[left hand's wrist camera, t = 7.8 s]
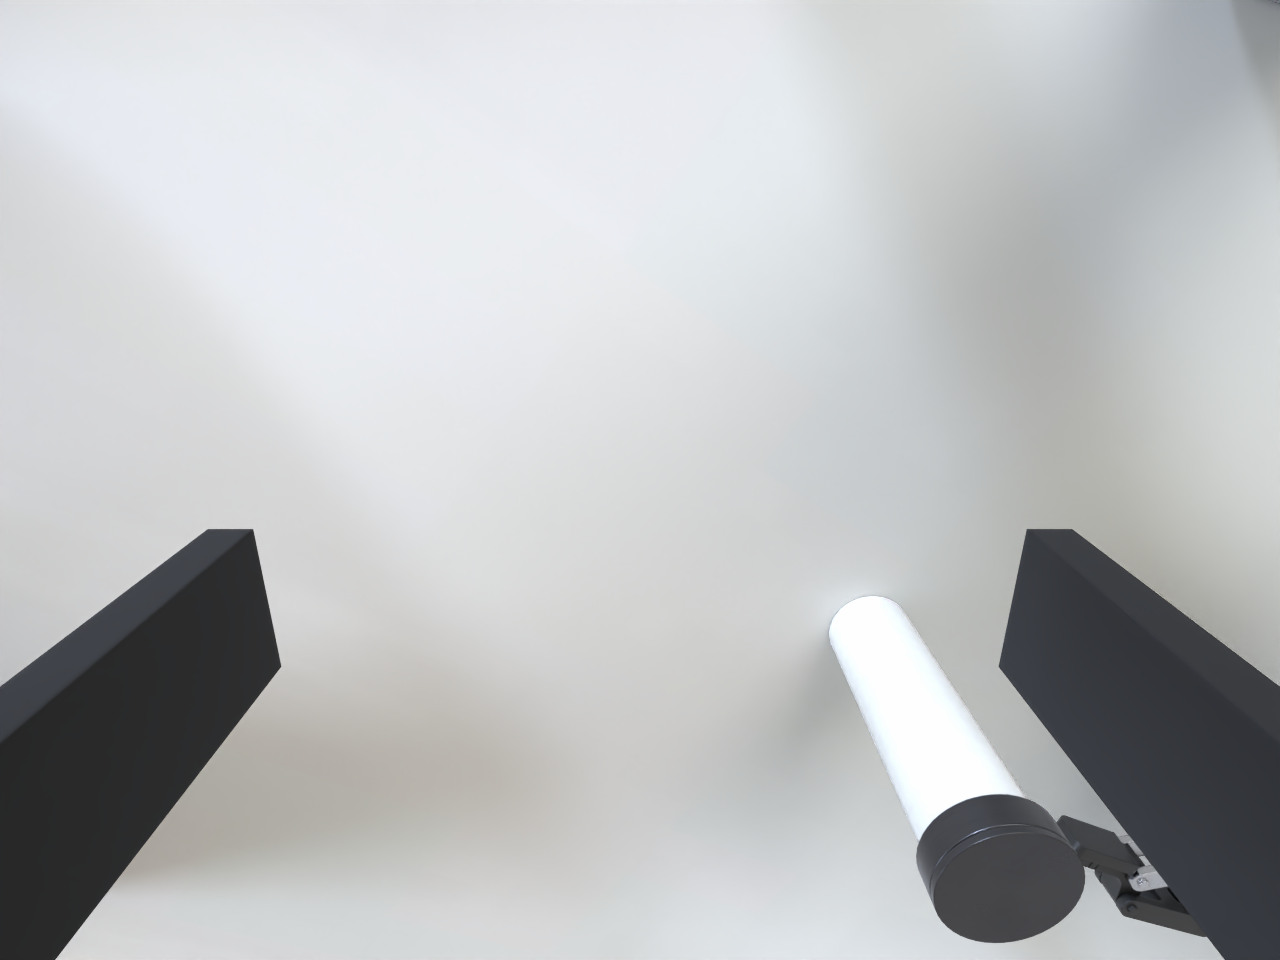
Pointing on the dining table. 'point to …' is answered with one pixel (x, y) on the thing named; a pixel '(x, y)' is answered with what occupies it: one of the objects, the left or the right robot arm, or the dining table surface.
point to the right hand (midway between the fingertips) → (1112, 775)
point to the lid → (999, 868)
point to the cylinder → (914, 713)
